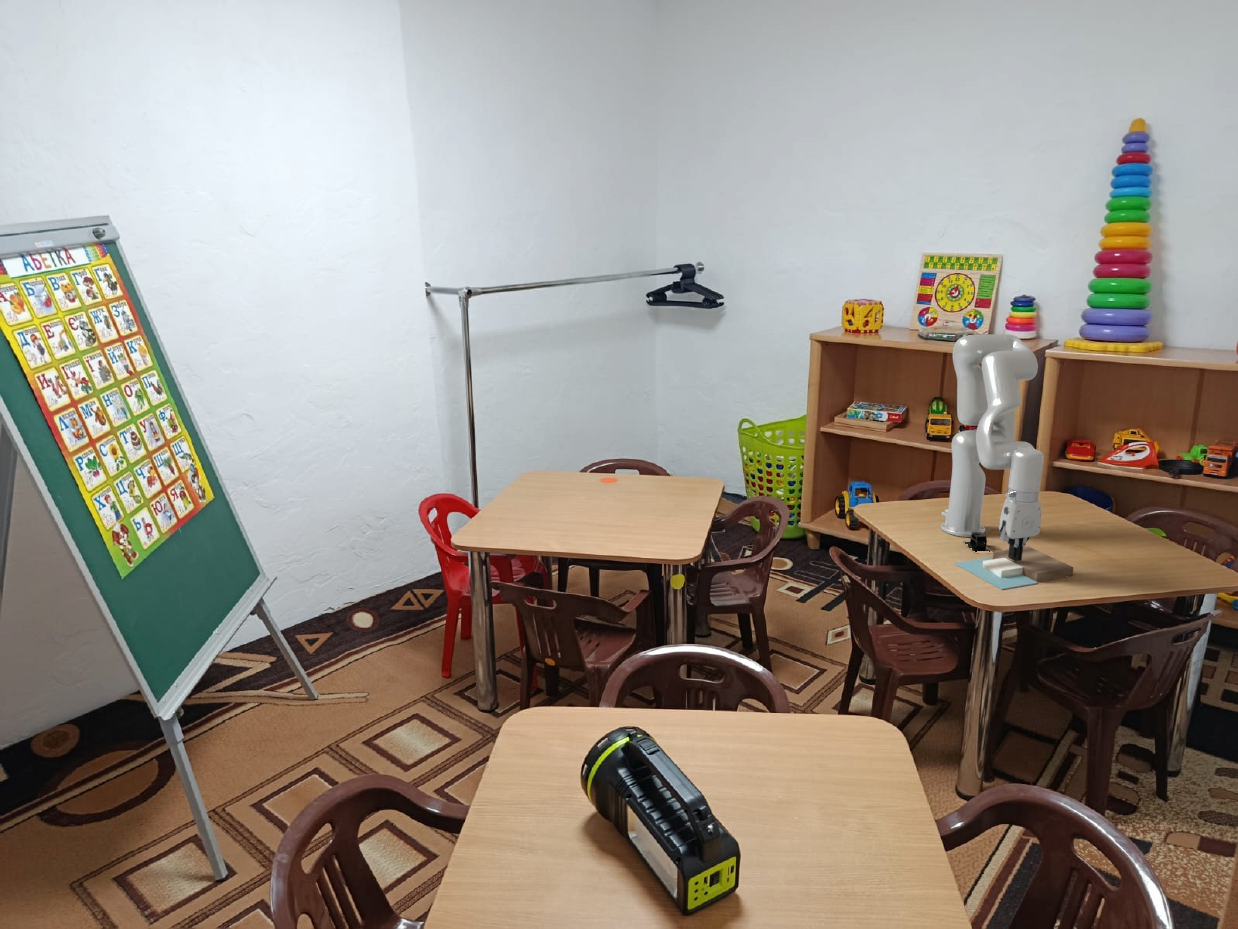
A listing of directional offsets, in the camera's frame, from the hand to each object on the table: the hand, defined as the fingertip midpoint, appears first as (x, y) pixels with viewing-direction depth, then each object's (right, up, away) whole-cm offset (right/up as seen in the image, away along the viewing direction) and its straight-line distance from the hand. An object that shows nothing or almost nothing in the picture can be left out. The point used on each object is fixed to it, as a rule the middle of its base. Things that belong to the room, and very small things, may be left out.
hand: (1014, 559), depth 225 cm
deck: (+6, -3, +3) cm, 7 cm away
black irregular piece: (-2, +1, +18) cm, 18 cm away
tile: (-3, -3, 0) cm, 5 cm away
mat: (-6, -4, -1) cm, 7 cm away
